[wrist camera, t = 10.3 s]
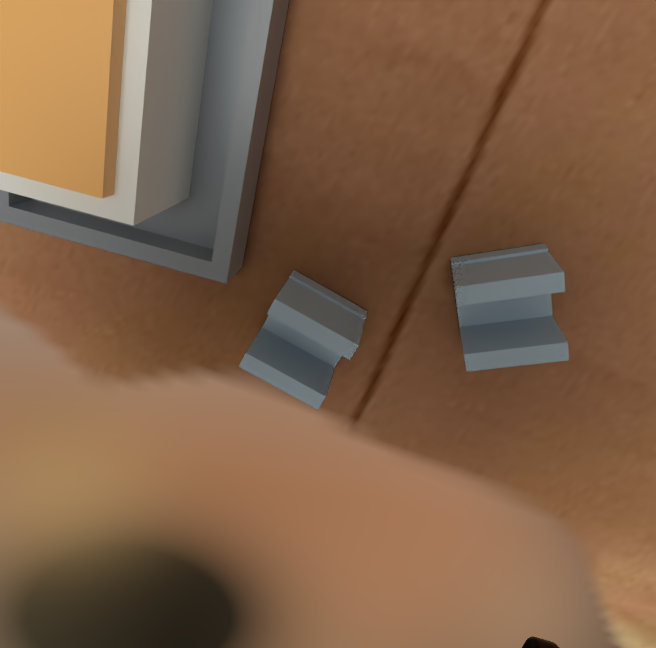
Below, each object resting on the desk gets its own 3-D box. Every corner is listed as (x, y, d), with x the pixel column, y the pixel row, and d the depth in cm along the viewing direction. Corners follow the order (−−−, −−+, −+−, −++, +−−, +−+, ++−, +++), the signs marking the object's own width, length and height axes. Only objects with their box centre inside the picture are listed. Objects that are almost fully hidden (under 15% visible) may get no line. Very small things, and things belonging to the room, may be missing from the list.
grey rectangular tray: (308, -109, 15) (295, -132, 14) (241, 267, 20) (226, 284, 18) (27, -178, 16) (-18, -209, 14) (26, 208, 20) (-8, 219, 19)
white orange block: (218, -45, 16) (147, -91, 12) (188, 197, 19) (122, 231, 15) (84, -78, 16) (-35, -135, 12) (75, 167, 19) (-23, 191, 15)
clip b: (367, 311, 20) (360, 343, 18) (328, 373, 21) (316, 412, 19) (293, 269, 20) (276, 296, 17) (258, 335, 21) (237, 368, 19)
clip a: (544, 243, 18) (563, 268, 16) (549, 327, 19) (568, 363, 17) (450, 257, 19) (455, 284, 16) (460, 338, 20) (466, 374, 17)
